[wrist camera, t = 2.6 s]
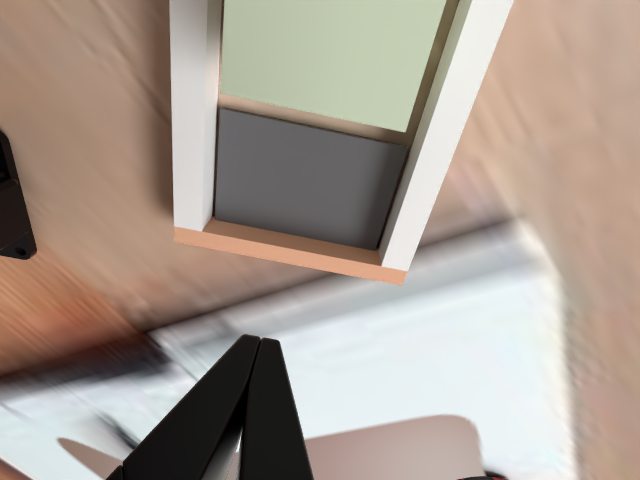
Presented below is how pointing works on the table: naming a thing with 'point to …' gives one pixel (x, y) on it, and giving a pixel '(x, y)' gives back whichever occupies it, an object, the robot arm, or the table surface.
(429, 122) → the channel
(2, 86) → the table surface
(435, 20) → the block
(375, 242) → the grey and orange drawer
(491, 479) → the race car
